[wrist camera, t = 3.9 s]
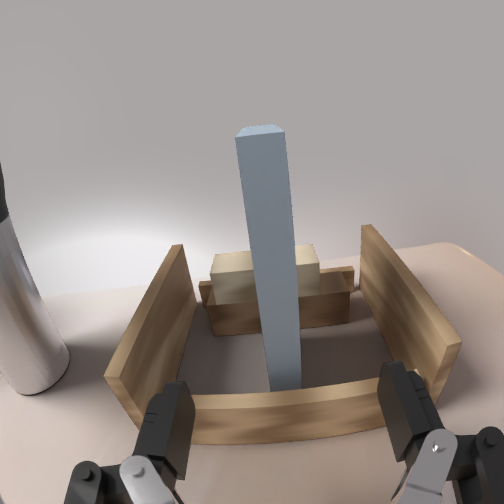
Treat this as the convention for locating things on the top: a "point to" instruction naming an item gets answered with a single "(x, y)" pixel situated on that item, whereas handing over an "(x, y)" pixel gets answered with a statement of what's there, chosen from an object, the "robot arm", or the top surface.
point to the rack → (291, 401)
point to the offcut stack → (246, 302)
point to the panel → (272, 249)
